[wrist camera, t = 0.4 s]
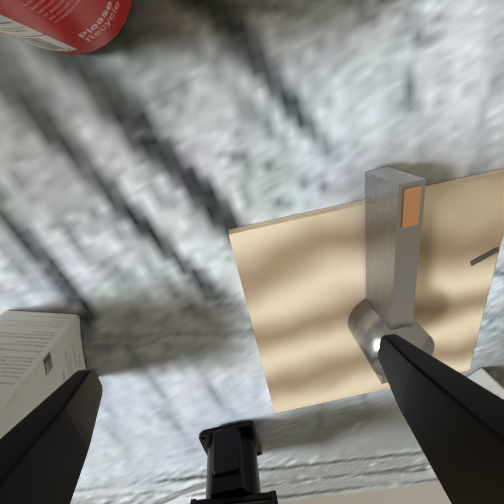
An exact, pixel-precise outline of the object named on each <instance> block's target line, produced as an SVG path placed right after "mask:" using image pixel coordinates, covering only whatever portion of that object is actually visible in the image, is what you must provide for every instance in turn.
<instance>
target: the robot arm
mask: <svg viewBox="0 0 504 504" xmlns="http://www.w3.org/2000/svg"><path fill="white" fill-rule="evenodd" d="M378 359H379V362H380V364H381V367H382V369H383V371H384V374H385V376H386V378H387V381H388V383H389V385H390V388H391V390H392V392H393V395H394V397H395V399H396V401H397V404H398V406H399V408H400V410H401V412H402V414H403V416H404V417H405V419H406V421H407V423H408V425H409V426H410V428H411V430H412V432H413V434H414V436H415V437H416V439H417V441H418V443H419V445H420V447H421V448H422V450H423V452H424V454H425V456H426V457H427V459H428V461H429V463H430V465H431V467H432V468H433V470H434V472H435V474H436V476H437V478H438V479H439V481H440V483H441V485H442V487H443V489H444V490H445V492H446V494H447V496H448V497H449V499H450V501H451V503H452V504H504V399H502V398H500V397H499V396H497V395H495V394H494V393H492V392H490V391H489V390H487V389H486V388H484V387H482V386H481V385H479V384H477V383H476V382H474V381H472V380H471V379H469V378H467V377H466V376H464V375H463V374H461V373H459V372H458V371H456V370H454V369H453V368H451V367H449V366H448V365H446V364H444V363H443V362H441V361H440V360H438V359H436V358H435V357H433V356H431V355H430V354H428V353H426V352H425V351H423V350H422V349H420V348H418V347H417V346H415V345H413V344H412V343H410V342H408V341H407V340H405V339H403V338H402V337H400V336H399V335H397V334H387V335H383V336H382V337H381V341H380V345H379V350H378ZM101 397H102V385H101V382H100V380H99V378H98V376H97V373H96V371H95V370H94V369H92V368H90V369H81V370H78V371H77V372H75V373H74V374H73V375H72V376H71V377H70V378H68V379H67V380H66V381H65V382H64V383H63V384H62V385H60V386H59V387H58V388H57V389H56V390H55V391H54V392H53V393H51V394H50V395H49V396H48V397H47V398H46V399H45V400H43V401H42V402H41V403H40V404H39V405H38V406H37V407H36V408H34V409H33V410H32V411H31V412H30V413H29V414H28V415H27V416H25V417H24V418H23V419H22V420H21V421H20V422H19V423H17V424H16V425H15V426H14V427H13V428H12V429H11V430H10V431H8V432H7V433H6V434H5V435H4V436H3V437H2V438H0V504H70V502H71V499H72V496H73V493H74V490H75V488H76V485H77V482H78V479H79V476H80V473H81V470H82V467H83V464H84V462H85V459H86V456H87V452H88V449H89V446H90V442H91V438H92V434H93V430H94V426H95V422H96V417H97V413H98V409H99V405H100V401H101ZM199 440H200V442H201V444H202V446H203V448H204V450H205V452H206V454H207V456H208V459H207V485H206V499H201V500H196V499H191V504H278V500H277V495H276V491H275V490H273V491H270V492H265V493H261V491H260V481H259V472H258V462H257V456H259V455H261V454H262V448H261V444H260V441H259V438H258V435H257V432H256V429H255V426H254V423H253V422H246V423H241V424H237V425H232V426H228V427H223V428H219V429H214V430H210V431H205V432H201V433H200V434H199Z"/></svg>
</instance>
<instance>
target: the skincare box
mask: <svg viewBox="0 0 504 504" xmlns="http://www.w3.org/2000/svg"><path fill="white" fill-rule="evenodd" d="M81 369H86V367H85V361H84V355H83V348H82V341H81V330H80V317H79V316H78V315H76V314H63V313H46V312H30V311H10V310H7V311H5V312H4V313H3V314H2V315H1V316H0V438H2V437H3V436H4V435H5V434H6V433H7V432H8V431H10V430H11V429H12V428H13V427H14V426H15V425H16V424H17V423H19V422H20V421H21V420H22V419H23V418H24V417H25V416H27V415H28V414H29V413H30V412H31V411H32V410H33V409H34V408H36V407H37V406H38V405H39V404H40V403H41V402H42V401H43V400H45V399H46V398H47V397H48V396H49V395H50V394H51V393H53V392H54V391H55V390H56V389H57V388H58V387H59V386H60V385H62V384H63V383H64V382H65V381H66V380H67V379H68V378H70V377H71V376H72V375H73V374H74V373H75V372H77V371H78V370H81Z"/></svg>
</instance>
